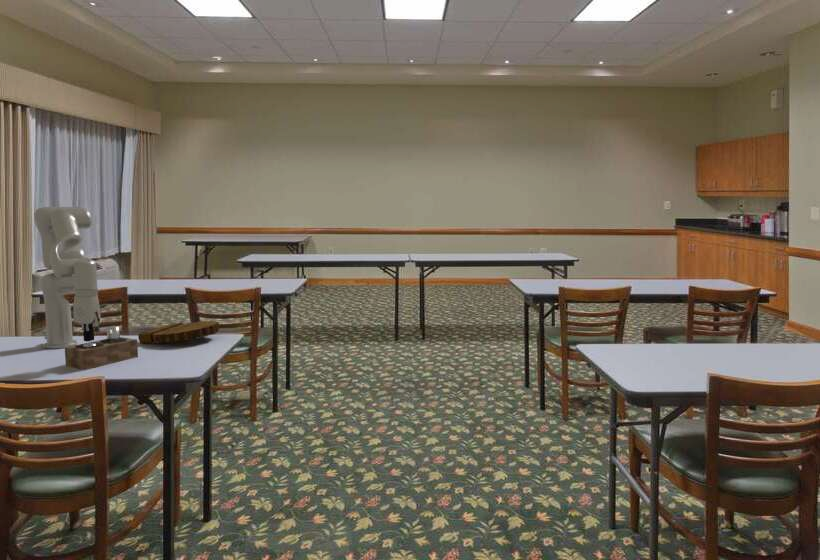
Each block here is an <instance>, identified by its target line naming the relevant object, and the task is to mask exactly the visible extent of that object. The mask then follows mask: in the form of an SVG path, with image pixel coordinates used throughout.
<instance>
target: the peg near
mask: <svg viewBox="0 0 820 560" xmlns="http://www.w3.org/2000/svg"><path fill="white" fill-rule="evenodd" d="M86 343H87V344H84V343H82V344H83V346H86V347H89V346H93V345H96V343H89V342H86Z"/></svg>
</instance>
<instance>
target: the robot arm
mask: <svg viewBox="0 0 820 560" xmlns="http://www.w3.org/2000/svg"><path fill="white" fill-rule="evenodd" d="M33 217H34V218H33V219H34V223H35V227H36V228H37V230H38V233H39V235H40V239H41V251H42V262H43V263H42V264H43V266H44V267H45V269H47V270H51V271H52V272H53V273H52V272H51V273H47V274H44V275H43V276H41V278H40V287H41V292H42V296H43V301H44V315H45V327H46V336H44V338H43V339H44V340H46V342H45V343H43V344H42V347H43V348H44V349H49V350H50V349H52V350H53V349H65V347H70V346H75V345H78V340H75V339H73V323H72V322H73V321H74V323H77V324H78V325H80V326H81V330H82V334H83V335H82V336H83V341H84V342H93V341H95V331H94V330H95V329H96V327H99V325H100V324H99V323H100V322H101V317H102V316H101V306H100V302H99V301H100V300H99V290H98V274H97V273H98V272H97V271H98V270H97V269H98V268H97V262H96V261H95V260H93V259H92V258H91V257H90V258H89V257H87V256H86V253H85V251H84V250H83V248H81V247H80V246H79V245H80V244H81V242H82V240H83V237H82V235H81V232H80V231H81V230H86V229H90V228H91V226H92V223H93V218H92V215H91V213H90V211H89V209H86V208H85V207H79V206H41V207H39V208H36V209H35V211H34V215H33ZM80 229H81V230H80ZM73 294H74V299H73V308H71V307H72V306H71V303H70V301H69V300H68V299H66V298H65V297H64V296H65V295H73ZM72 309H73V313H72ZM72 314H73V321H72Z"/></svg>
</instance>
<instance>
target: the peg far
mask: <svg viewBox="0 0 820 560" xmlns="http://www.w3.org/2000/svg"><path fill="white" fill-rule="evenodd" d="M120 335H121V333H120V326H118V325H111V326H107V327H106V337H107V338H106V339H107V341H117V340H120V337H121V336H120Z"/></svg>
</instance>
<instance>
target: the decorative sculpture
mask: <svg viewBox="0 0 820 560" xmlns="http://www.w3.org/2000/svg"><path fill="white" fill-rule="evenodd" d="M219 331H220V324H219V321H217V320H216V321H215V320H214V321H213V320H207V321H206V320H205V321H196V322H187V323H183V322H175V323H174V322H173V323H168V324H166V325H163V326H159V327H157V328H154V329H151V330H147V331H143V332H141V333H138V335H137V336H138V342H139V343H140V344H141V343H147V344H156V343H158V344H165V343H170V342H174V343H175V342H177V343H179V342H183V341H189V340H194V339H200V338H203V337H208V336H211V335H214V334H216V333H219Z"/></svg>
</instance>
